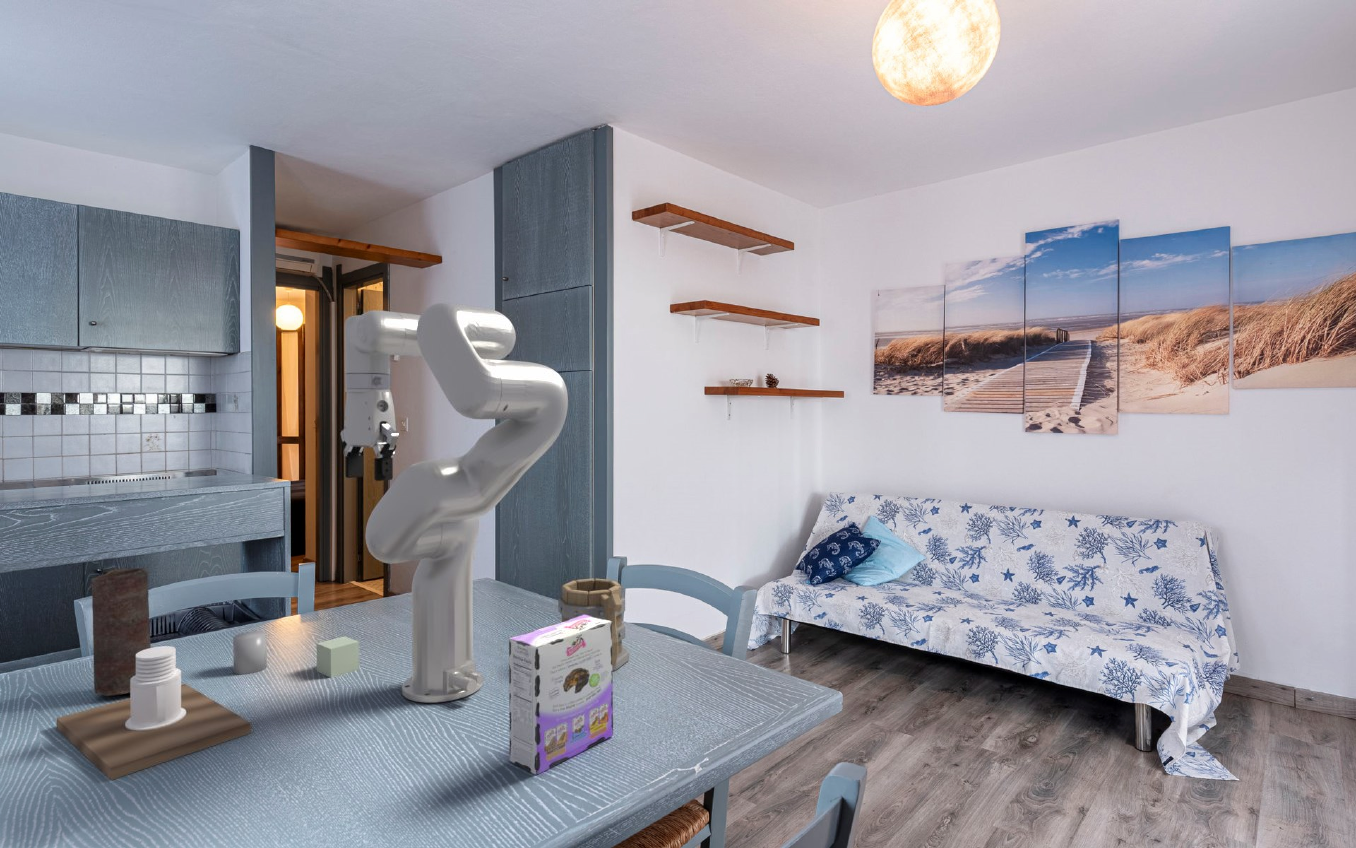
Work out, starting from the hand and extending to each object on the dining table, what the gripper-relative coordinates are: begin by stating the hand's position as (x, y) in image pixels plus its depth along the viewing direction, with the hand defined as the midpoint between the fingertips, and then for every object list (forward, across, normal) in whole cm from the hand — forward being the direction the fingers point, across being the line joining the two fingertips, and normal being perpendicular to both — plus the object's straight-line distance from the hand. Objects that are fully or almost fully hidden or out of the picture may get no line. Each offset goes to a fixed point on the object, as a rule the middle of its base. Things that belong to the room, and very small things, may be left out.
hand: (368, 478), depth 129 cm
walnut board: (+33, -2, +34) cm, 48 cm away
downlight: (+32, -2, +34) cm, 47 cm away
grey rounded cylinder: (+33, +13, +15) cm, 39 cm away
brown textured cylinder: (+34, +18, +32) cm, 50 cm away
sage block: (+33, 0, +6) cm, 34 cm away
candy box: (+34, -53, +3) cm, 63 cm away
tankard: (+34, -36, -22) cm, 54 cm away
